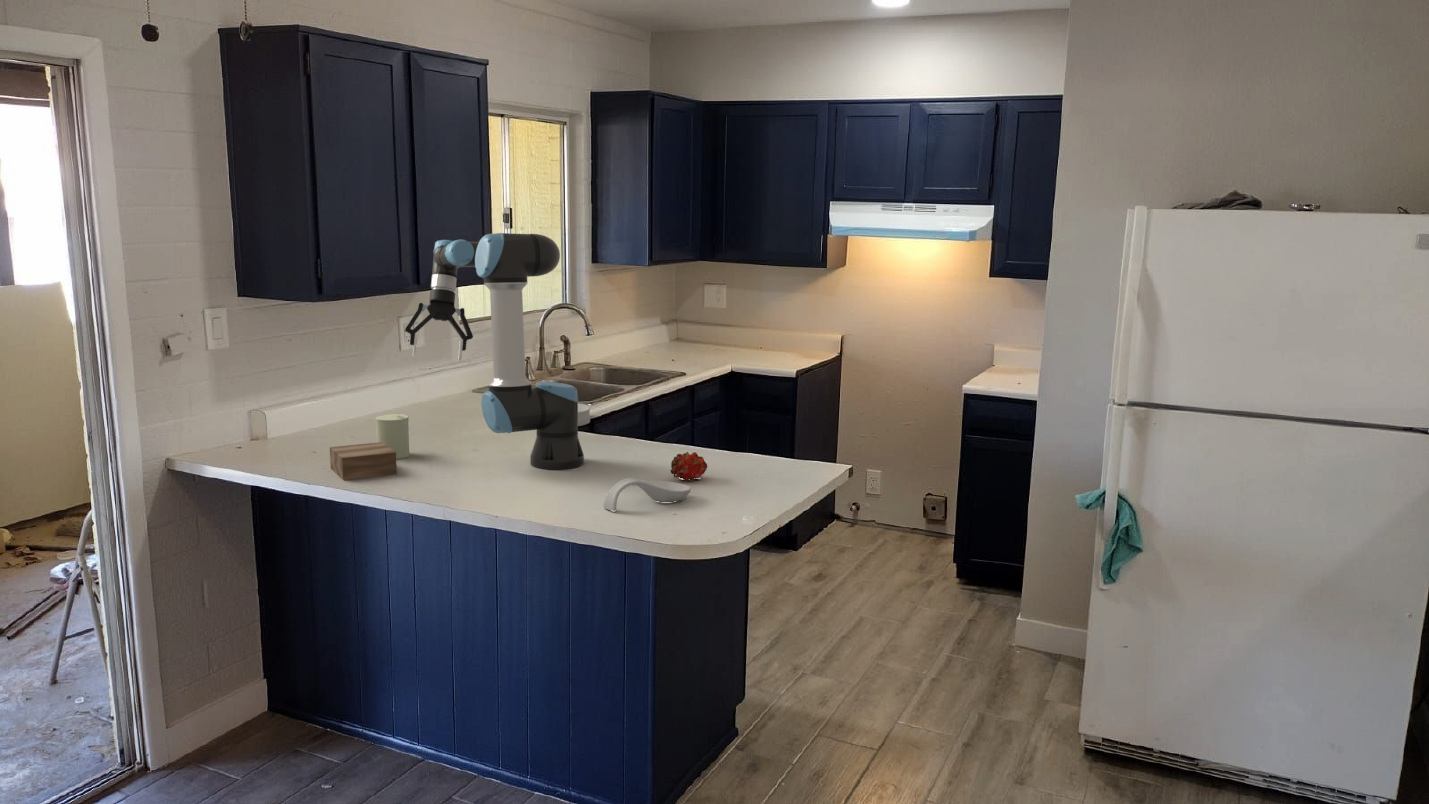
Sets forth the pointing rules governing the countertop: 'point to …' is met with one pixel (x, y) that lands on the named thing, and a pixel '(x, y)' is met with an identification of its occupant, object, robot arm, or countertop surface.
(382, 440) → the can
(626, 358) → the countertop surface
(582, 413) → the dish
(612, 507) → the spoon rest
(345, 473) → the walnut block
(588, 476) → the countertop surface
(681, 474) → the red bumpy oval piece
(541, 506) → the countertop surface
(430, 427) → the countertop surface
